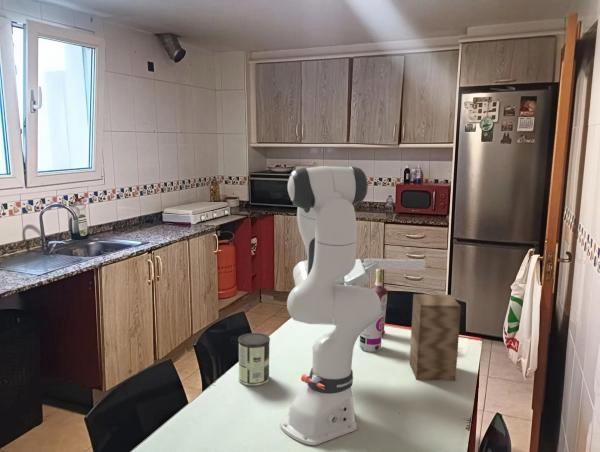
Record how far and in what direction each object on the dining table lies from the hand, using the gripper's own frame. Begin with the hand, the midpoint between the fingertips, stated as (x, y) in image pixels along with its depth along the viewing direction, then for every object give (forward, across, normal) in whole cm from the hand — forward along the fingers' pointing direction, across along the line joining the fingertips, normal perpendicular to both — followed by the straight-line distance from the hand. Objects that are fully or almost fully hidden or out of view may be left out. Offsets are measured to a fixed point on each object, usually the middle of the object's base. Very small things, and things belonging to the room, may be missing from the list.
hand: (377, 262), depth 167 cm
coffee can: (-54, -9, +13) cm, 57 cm away
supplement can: (-18, +19, +34) cm, 43 cm away
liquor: (-14, +33, +36) cm, 51 cm away
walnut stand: (-2, 0, +44) cm, 44 cm away
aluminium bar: (+4, 0, +4) cm, 6 cm away
